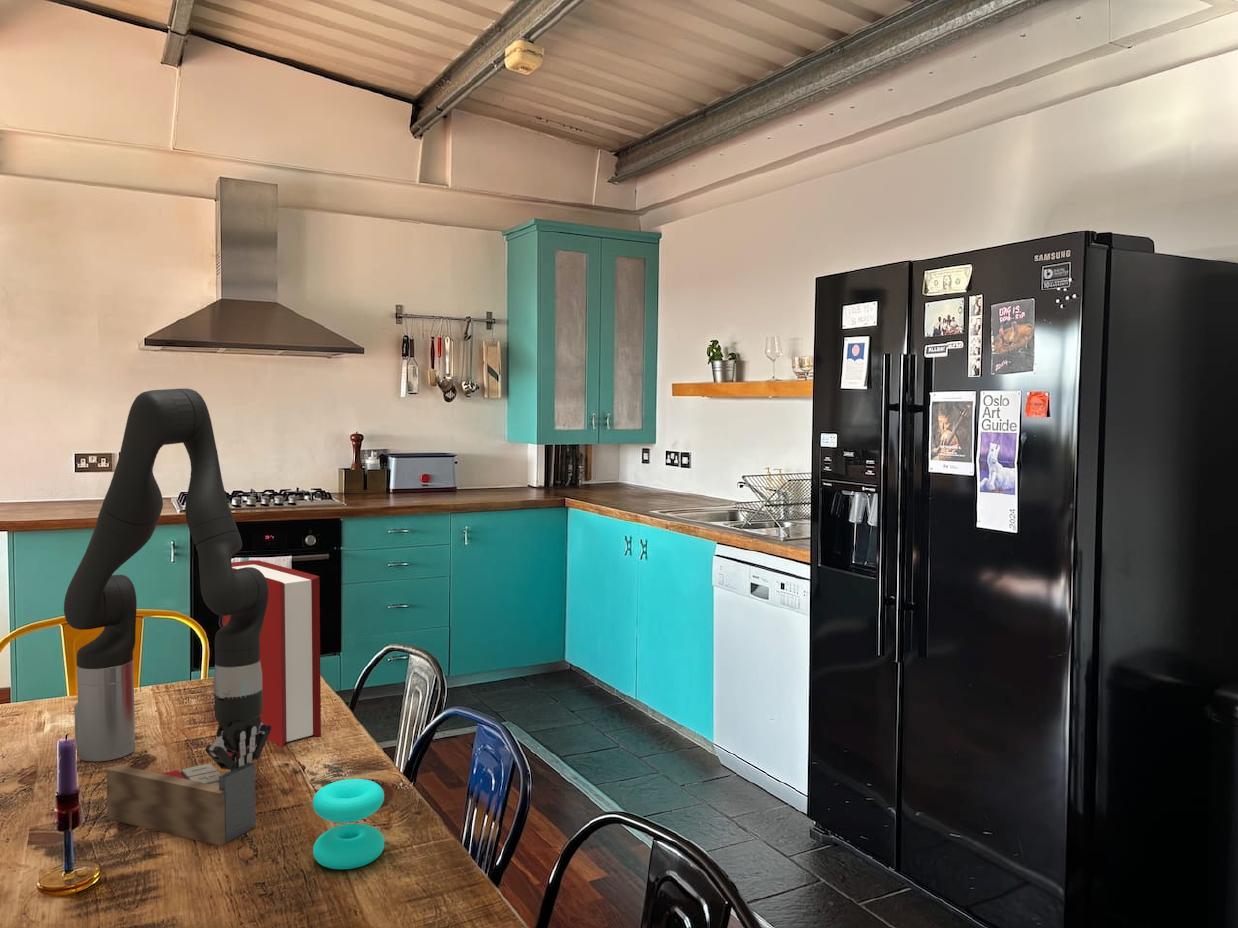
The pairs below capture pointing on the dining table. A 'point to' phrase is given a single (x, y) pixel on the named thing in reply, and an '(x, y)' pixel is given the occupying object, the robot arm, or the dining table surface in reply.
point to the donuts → (349, 840)
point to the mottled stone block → (166, 804)
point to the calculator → (198, 774)
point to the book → (289, 652)
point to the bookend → (239, 800)
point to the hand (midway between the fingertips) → (240, 789)
